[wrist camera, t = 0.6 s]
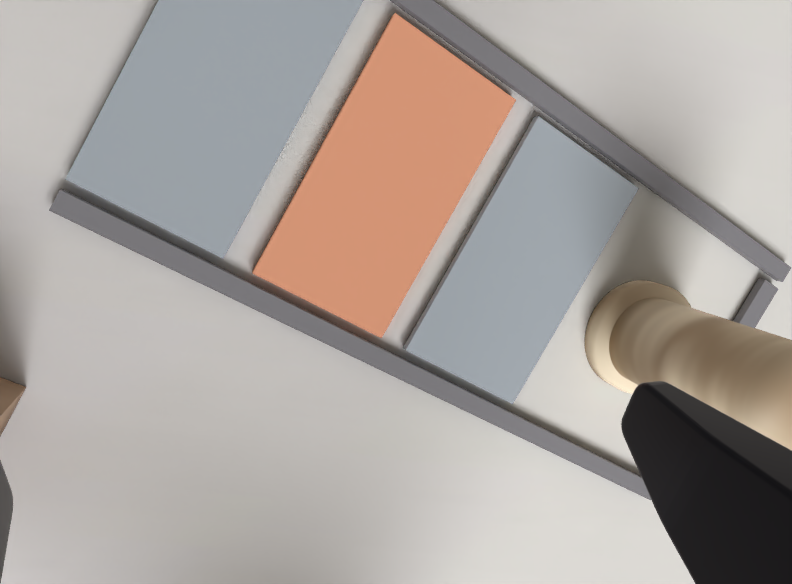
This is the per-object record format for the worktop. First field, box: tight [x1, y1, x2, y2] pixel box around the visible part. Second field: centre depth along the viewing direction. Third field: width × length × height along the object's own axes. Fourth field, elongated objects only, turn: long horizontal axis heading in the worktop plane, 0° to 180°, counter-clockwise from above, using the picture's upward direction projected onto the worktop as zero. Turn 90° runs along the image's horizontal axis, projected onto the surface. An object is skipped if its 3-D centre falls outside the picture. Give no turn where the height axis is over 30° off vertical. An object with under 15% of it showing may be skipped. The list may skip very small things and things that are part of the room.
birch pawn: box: [585, 280, 792, 450], centre depth 24 cm, size 5×5×8 cm
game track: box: [49, 0, 791, 500], centre depth 25 cm, size 13×30×1 cm, turn 60°
